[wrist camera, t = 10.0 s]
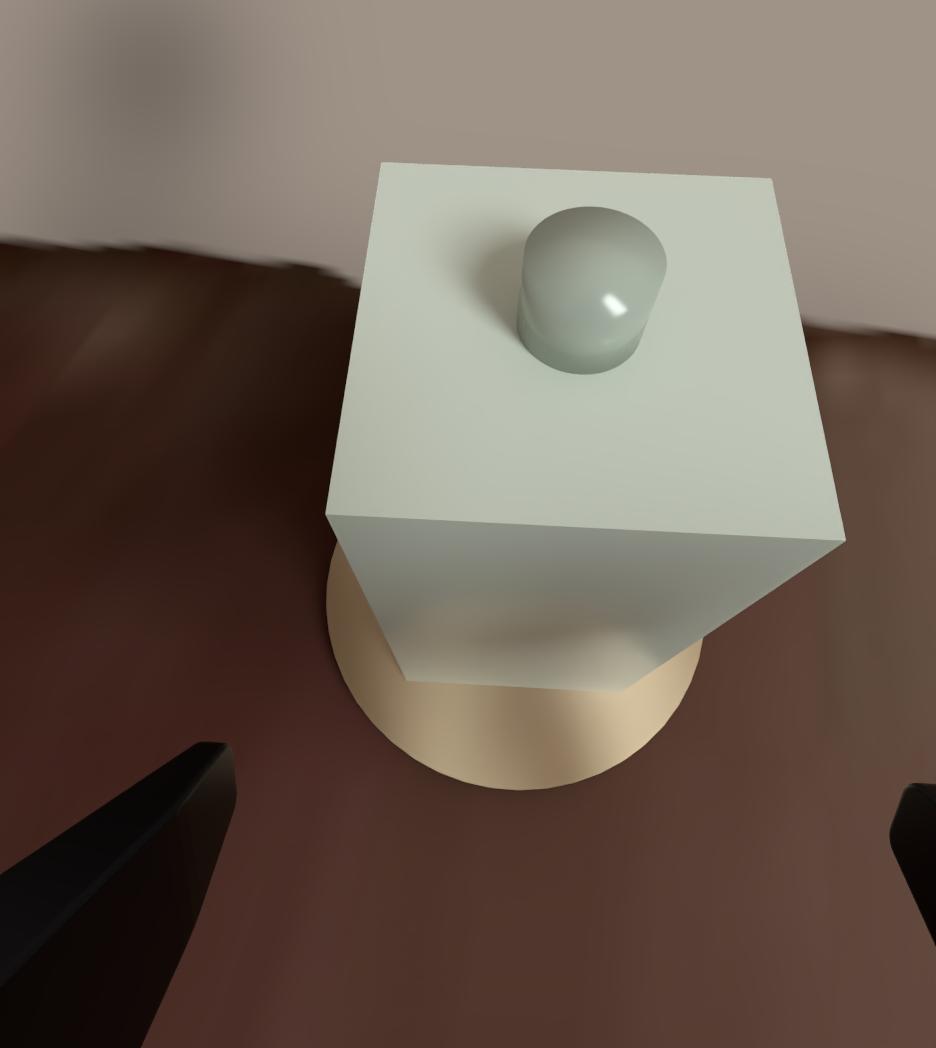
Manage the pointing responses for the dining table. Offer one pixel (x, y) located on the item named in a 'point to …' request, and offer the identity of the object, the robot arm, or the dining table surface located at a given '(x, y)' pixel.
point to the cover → (574, 421)
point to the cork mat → (495, 708)
